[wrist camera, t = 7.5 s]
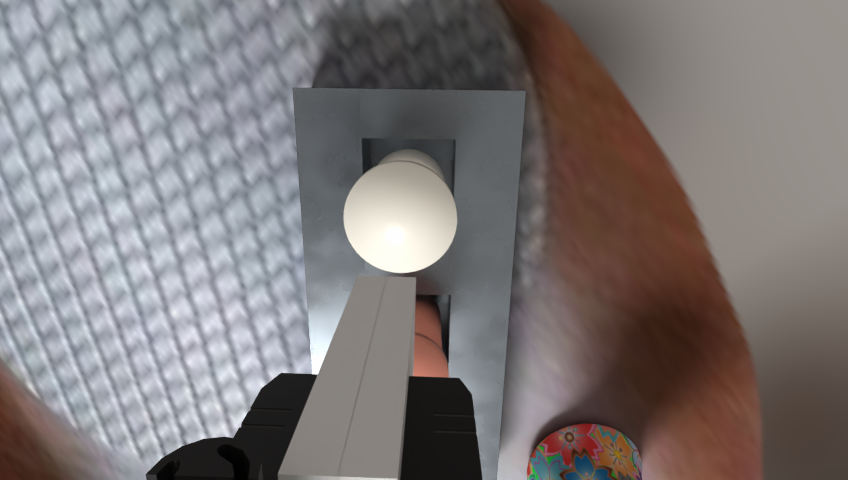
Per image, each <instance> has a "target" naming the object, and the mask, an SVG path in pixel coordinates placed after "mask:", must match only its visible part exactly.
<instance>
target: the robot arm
mask: <svg viewBox="0 0 848 480" xmlns="http://www.w3.org/2000/svg"><path fill="white" fill-rule="evenodd" d="M415 300H416V277H391V276H363V275H358V276H357V278H356V281H355V283H354V286H353V288H352V291H351V293H350V296H349V298H348V301H347V303H346V306H345V308H344V311H343V313H342V316H341V318H340V320H339V323H338V325H337V328H336V330H335V333H334V335H333V338H332V340H331V343H330V345H329V348H328V350H327V353H326V355H325V358H324V360H323V363H322V365H321V368H320V370H319V373H318V374H292V373H281V374H279V375H278V376H277V377H276V378H274V379H273V380H272V381H270V382H269V383H268V384H267V385H265V386H264V387H263V388H262V389H261V390H260V392H259V394H258V396H257V397H256V399H255V401H254V403H253V404H252V406H251V410H250V411H249V412H248V413H247V415H246V417H245V419H244V420H243V422H242V426H241V428H239V429H238V431H237V433H236V434H235V436H234V438H228V437H219V438H209V439H203V440H200V441H197V442H194V443H191V444H188V445H185V446H182V447H180V448H179V449H177V450H175V451H173V452H172V453H170V454H168V455H167V456H165V457H163V458H162V459H161V460H160V461H159V462H158V463H157V464H156V465H155V466H154V467H153V468H152V469H151V470H150V471H149V472H148V473H147V474H146V478H147V480H483V479H482V471H481V463H480V455H479V446H478V438H477V434H476V431H477V430H476V422H475V418H474V406H473V398H472V394H471V393H470V391H469V390H468V389H467V387H466V386H465V385H464V383H463V382H462V381H461V379H460V378H449V377H422V376H413V372H414V338H415Z"/></svg>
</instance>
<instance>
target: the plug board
mask: <svg viewBox="0 0 848 480" xmlns="http://www.w3.org/2000/svg"><path fill="white" fill-rule="evenodd" d="M525 96H526V91H517V90H450V89H375V88H293V101H294V115H295V130H296V144H297V159H298V173H299V188H300V202H301V217H302V231H303V246H304V260H305V275H306V289H307V304H308V318H309V333H310V347H311V362H312V374H318V373H319V370H320V368H321V365H322V363H323V360H324V358H325V355H326V353H327V350H328V348H329V345H330V343H331V340H332V338H333V335H334V333H335V330H336V328H337V325H338V323H339V320H340V318H341V316H342V313H343V311H344V308H345V306H346V303H347V301H348V298H349V296H350V293H351V291H352V288H353V286H354V283H355V281H356V278H357V276H358V275H363V276H391V277H416V295H430V296H431V297H432V298H433V299H434V300H435V301H436V303H437V305H438V307H439V309H440V313H441V338H442V351H443V352H444V354H445V356H446V359H447V362H448V371H449V378H460V379H461V381H462V382H463V383H464V385H465V386H466V387H467V389H468V390H469V391H470V393H471V394H472V398H473V406H474V418H475V422H476V430H477V431H476V434H477V438H478V446H479V455H480V463H481V471H482V479H483V480H497V470H498V457H499V443H500V430H501V417H502V403H503V390H504V377H505V363H506V350H507V336H508V323H509V310H510V296H511V283H512V270H513V256H514V243H515V230H516V216H517V203H518V189H519V176H520V163H521V149H522V136H523V123H524V109H525ZM403 149H414V150H418V151H421V152H424V153H425V154H427V155H429V156H430V157H432V158H433V159H434V160H435V161H436V162H437V163H438V165H439V166H440V168H441V170H442V172H443V175H444V178H445V182H446V184H447V185H448V187H449V189H450V191H451V193H452V195H453V198H454V201H455V206H456V211H457V227H456V232H455V236H454V238H453V241H452V243H451V245H450V246H449V248H448V249H447V251H446V252H445V253H444V255H443V256H442V257H441V258H440V259H438V260H437V261H436V262H435V263H433V264H431V265H430V266H428V267H426V268H424V269H421V270H418V271H414V272H409V273H394V272H389V271H385V270H382V269H379V268H377V267H375V266H373V265H371V264H370V263H368V262H366V261H365V260H364V259H363V258H362V257H361V256H360V255H359V254H358V253H357V252H356V251H355V249H354V248H353V247H352V245H351V243H350V241H349V240H348V237H347V234H346V231H345V227H344V207H345V203H346V200H347V197H348V195H349V193H350V191H351V189H352V188H353V186H354V185H355V183H356V182H357V181H358V180H359V179H360V177H361V176H362V175H363V174H365V173H366V172H367V171H368V170H370V169H371V168H373V167H375V166H377V165H378V164H379V163H380V161H381V160H382V159H383V158H384V157H386V156H387V155H389V154H390V153H392V152H395V151H398V150H403Z"/></svg>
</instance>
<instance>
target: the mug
mask: <svg viewBox="0 0 848 480" xmlns="http://www.w3.org/2000/svg"><path fill="white" fill-rule="evenodd" d="M527 480H642V461H641V457H640V454H639V452H638V450H637V448H636V446H635V445H634V444H633V442H632V441H631V440H630V439H629V438H628V437H626V436H625V435H624V434H622V433H621V432H619V431H617V430H615V429H613V428H610V427H607V426H603V425H599V424H577V425H572V426H568V427H565V428H562V429H560V430H558V431H556V432H554V433H552V434H550V435H549V436H548V437H546V438H545V439H544V440H543V441H542V442H541V443H540V444H539V445H538V446H537V447H536V449H535V450H534V452H533V453H532V455H531V457H530V460H529V463H528V468H527Z"/></svg>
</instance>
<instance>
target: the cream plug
mask: <svg viewBox="0 0 848 480" xmlns="http://www.w3.org/2000/svg"><path fill="white" fill-rule="evenodd" d="M344 227H345V231H346V234H347V237H348V240H349V241H350V243H351V245H352V247H353V248H354V249H355V251H356V252H357V253H358V254H359V255H360V256H361V257H362V258H363V259H364V260H365V261H366V262H368V263H370V264H371V265H373V266H375V267H377V268H379V269H382V270H385V271H389V272H394V273H409V272H414V271H418V270H421V269H424V268H426V267H428V266H430V265H431V264H433V263H435V262H436V261H437V260H438V259H440V258H441V257H442V256H443V255H444V253H445V252H446V251H447V249H448V248H449V246H450V245H451V243H452V241H453V238H454V236H455V232H456V227H457V211H456V206H455V201H454V198H453V195H452V193H451V191H450V189H449V187H448V185H447V184H446V182H445V178H444V175H443V172H442V170H441V168H440V166H439V165H438V163H437V162H436V161H435V160H434V159H433V158H432V157H430V156H429V155H427V154H425V153H424V152H421V151H418V150H414V149H403V150H398V151H395V152H392V153H390V154H389V155H387V156H386V157H384V158H383V159H382V160H381V161H380V163H379V164H378V165H377V166H375V167H373V168H371V169H370V170H368V171H367V172H366V173H365V174H363V175H362V176H361V177H360V179H359V180H358V181H357V182H356V183H355V185H354V186H353V188H352V189H351V191H350V193H349V195H348V197H347V200H346V203H345V207H344Z"/></svg>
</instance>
